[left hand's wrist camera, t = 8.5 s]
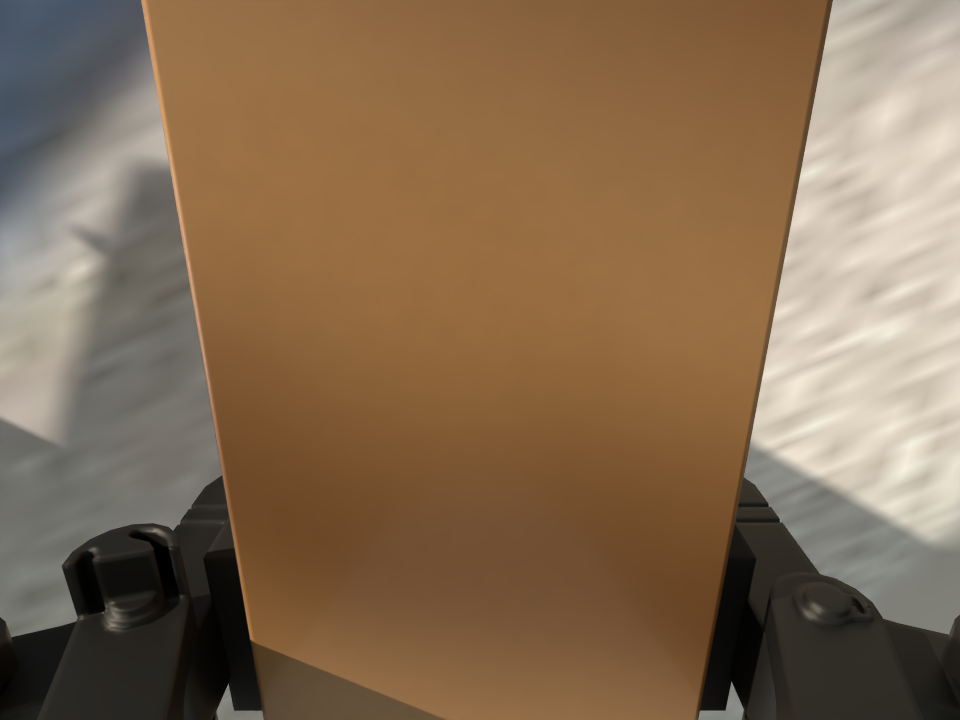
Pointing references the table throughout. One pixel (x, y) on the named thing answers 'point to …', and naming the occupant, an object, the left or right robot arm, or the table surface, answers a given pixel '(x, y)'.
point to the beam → (484, 332)
